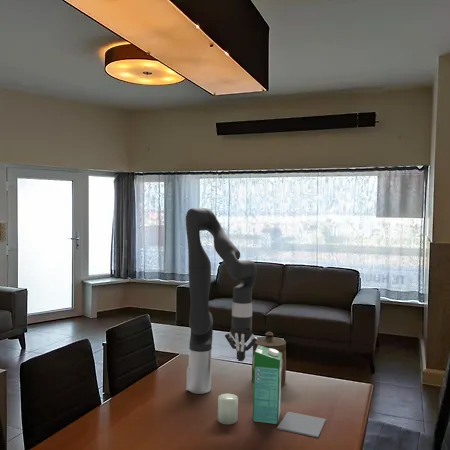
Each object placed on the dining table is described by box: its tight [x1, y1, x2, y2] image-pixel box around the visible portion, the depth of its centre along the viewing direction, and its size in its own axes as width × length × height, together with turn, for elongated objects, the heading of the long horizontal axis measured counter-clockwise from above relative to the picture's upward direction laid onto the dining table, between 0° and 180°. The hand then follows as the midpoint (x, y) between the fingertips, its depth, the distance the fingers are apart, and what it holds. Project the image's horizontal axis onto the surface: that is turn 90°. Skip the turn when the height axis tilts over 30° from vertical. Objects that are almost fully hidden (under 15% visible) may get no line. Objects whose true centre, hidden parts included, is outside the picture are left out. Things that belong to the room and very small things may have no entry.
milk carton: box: [252, 345, 282, 425], centre depth 163 cm, size 9×9×25 cm
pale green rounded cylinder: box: [217, 393, 239, 425], centre depth 160 cm, size 7×7×8 cm
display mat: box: [276, 411, 327, 439], centre depth 158 cm, size 14×14×1 cm
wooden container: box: [251, 331, 287, 387], centre depth 198 cm, size 15×15×22 cm
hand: (240, 360), depth 167 cm, fingers closed
